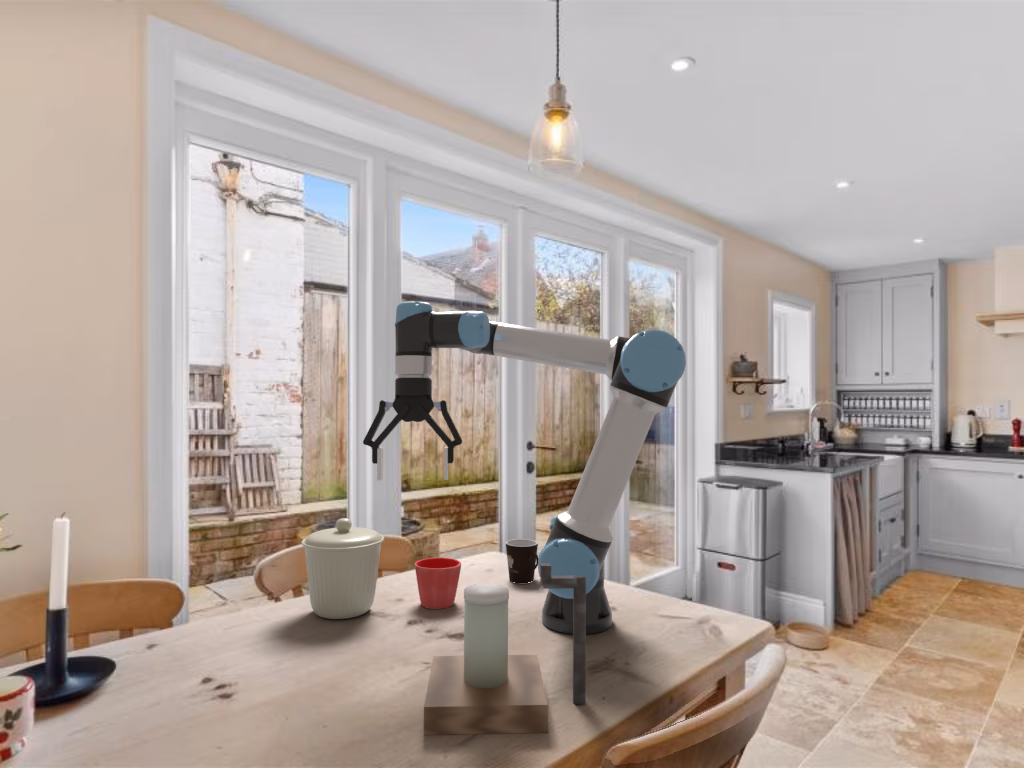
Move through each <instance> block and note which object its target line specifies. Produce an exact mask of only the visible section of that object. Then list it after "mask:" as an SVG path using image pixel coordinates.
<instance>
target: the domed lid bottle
mask: <svg viewBox="0 0 1024 768" xmlns="http://www.w3.org/2000/svg"><path fill="white" fill-rule="evenodd" d="M463 599H464V602H463V606H464V607H463V608H464V609H463V610H464V612H463V613H464V615H463V616H464V617H463V618H464V620H463V621H464V622H463V625H464V626H463V627H464V628H463V656H464V681H465V683H466V684H468V685H470V686H472V687H476V688H494V687H498V686H501V685H503V684H504V683H506V682H507V680H508V655H509V599H510V590H509V587H508V586H505V585H503V584H498V583H489V582H488V583H477V584H471V585H467V586H466V587H465V588H464V589H463Z"/></svg>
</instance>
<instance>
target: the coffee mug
mask: <svg viewBox="0 0 1024 768" xmlns="http://www.w3.org/2000/svg"><path fill="white" fill-rule="evenodd" d="M538 544H539V543H538V541H536V540H533V539H528V538H514V539H509V540H507V541H505V550H506V557H507V558H506V559H507V568H508V579H509V582H510V581H512V582H515V583H514V584H516V583H528V582H531V581H533V580H534V579H535V571H536V569H538V558H539V555H538V554H537V553H538V546H539V545H538ZM512 582H511V583H512ZM533 582H534V581H533ZM528 584H529V583H528Z"/></svg>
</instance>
